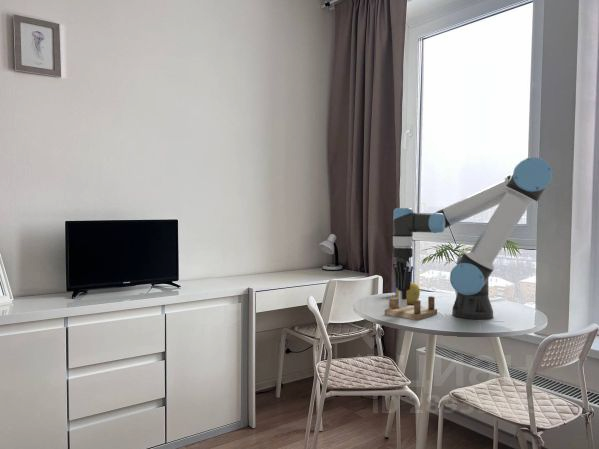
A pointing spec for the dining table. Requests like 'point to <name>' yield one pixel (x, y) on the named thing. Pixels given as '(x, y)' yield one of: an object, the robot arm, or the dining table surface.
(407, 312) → the stool seat
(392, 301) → the hinge leg
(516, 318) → the dining table surface
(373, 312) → the dining table surface
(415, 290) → the fruit
